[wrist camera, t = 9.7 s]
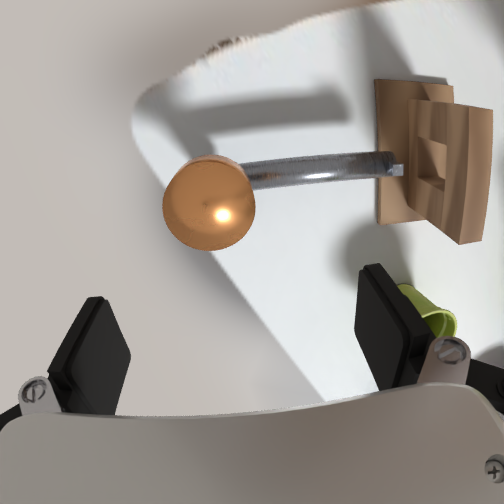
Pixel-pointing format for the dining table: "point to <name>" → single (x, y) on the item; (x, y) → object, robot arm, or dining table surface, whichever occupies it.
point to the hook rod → (251, 190)
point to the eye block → (434, 158)
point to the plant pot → (431, 312)
